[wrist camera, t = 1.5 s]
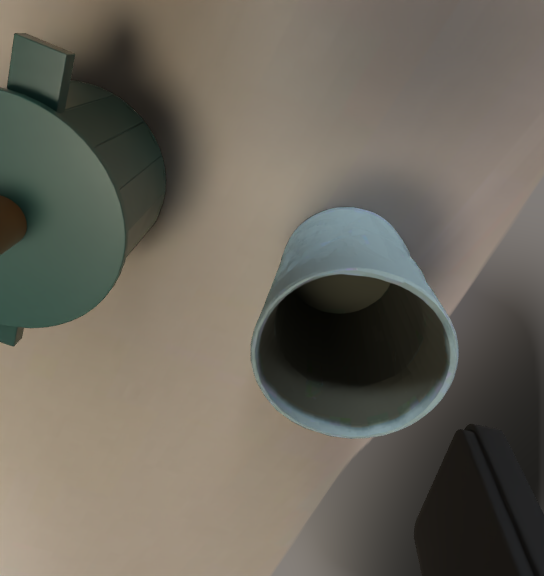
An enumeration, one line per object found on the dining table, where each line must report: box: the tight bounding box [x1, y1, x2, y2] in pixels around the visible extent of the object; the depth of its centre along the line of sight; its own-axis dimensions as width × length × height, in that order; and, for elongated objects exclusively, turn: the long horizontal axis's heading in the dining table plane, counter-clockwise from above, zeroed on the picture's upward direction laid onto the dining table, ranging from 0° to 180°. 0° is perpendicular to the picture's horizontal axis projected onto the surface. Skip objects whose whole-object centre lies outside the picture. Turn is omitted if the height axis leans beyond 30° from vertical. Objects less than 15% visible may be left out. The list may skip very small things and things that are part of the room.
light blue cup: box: [251, 207, 458, 439], centre depth 31 cm, size 10×10×12 cm
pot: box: [0, 33, 166, 346], centre depth 30 cm, size 11×17×10 cm
